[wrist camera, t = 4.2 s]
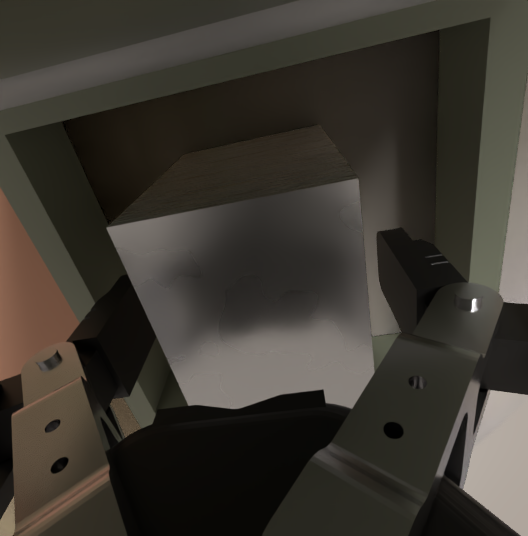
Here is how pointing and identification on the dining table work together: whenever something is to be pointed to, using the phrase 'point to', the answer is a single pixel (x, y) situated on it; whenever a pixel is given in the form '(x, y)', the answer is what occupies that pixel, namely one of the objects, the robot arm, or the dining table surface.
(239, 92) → the dining table surface
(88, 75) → the equipment case
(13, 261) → the rust mat
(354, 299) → the block
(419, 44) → the dining table surface
